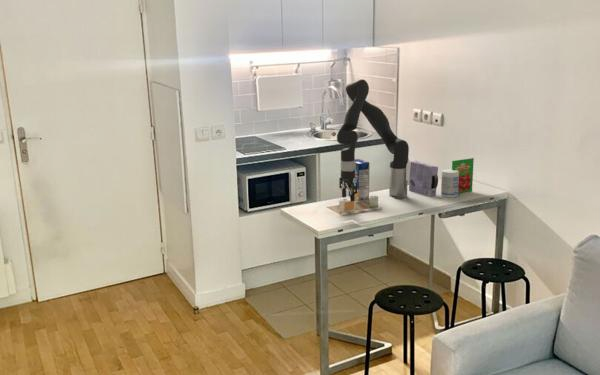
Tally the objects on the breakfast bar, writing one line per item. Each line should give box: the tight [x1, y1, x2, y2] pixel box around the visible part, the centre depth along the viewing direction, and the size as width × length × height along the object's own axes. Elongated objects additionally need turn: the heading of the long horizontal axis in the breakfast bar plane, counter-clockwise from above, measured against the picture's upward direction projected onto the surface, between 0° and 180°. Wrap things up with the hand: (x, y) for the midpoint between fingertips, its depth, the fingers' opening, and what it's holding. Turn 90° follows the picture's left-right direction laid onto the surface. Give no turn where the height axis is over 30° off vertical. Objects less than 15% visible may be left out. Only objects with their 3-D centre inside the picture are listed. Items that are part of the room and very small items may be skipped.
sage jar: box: [369, 195, 379, 208], centre depth 345 cm, size 4×4×6 cm
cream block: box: [338, 197, 356, 213], centre depth 340 cm, size 7×5×6 cm, turn 116°
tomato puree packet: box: [451, 157, 475, 195], centre depth 372 cm, size 15×1×20 cm, turn 116°
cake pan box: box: [408, 160, 439, 198], centre depth 374 cm, size 19×5×18 cm, turn 34°
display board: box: [326, 200, 383, 217], centre depth 346 cm, size 24×18×2 cm
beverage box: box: [348, 158, 370, 202], centre depth 363 cm, size 7×11×22 cm, turn 26°
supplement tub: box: [440, 168, 459, 198], centre depth 368 cm, size 10×10×15 cm
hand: (348, 199), depth 339 cm, fingers open, 8 cm apart
